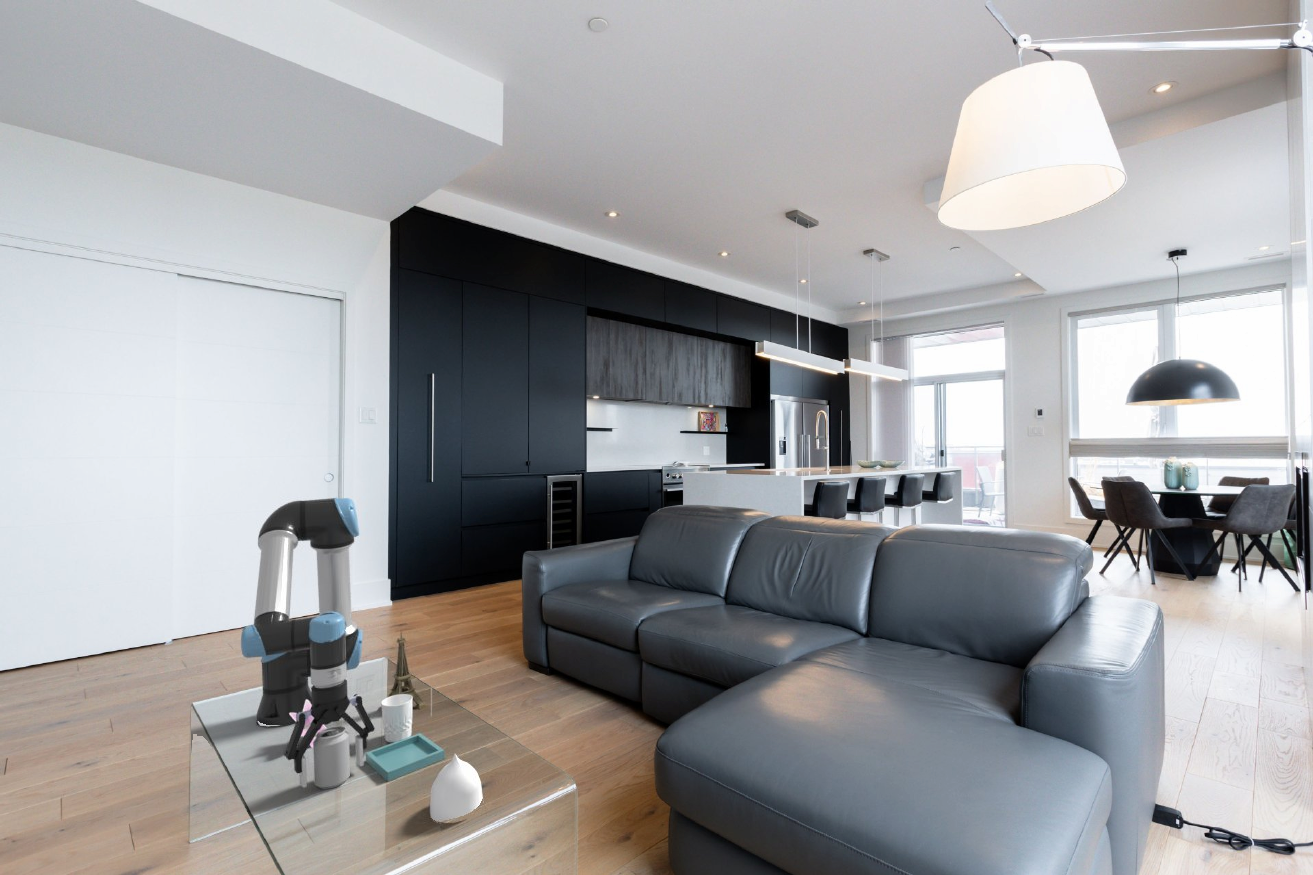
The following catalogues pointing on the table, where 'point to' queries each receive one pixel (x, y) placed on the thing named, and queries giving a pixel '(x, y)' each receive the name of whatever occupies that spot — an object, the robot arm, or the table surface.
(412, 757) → the tray
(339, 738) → the can
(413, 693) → the eiffel tower
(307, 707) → the lily
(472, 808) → the teardrop
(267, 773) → the table surface
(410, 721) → the white cup
